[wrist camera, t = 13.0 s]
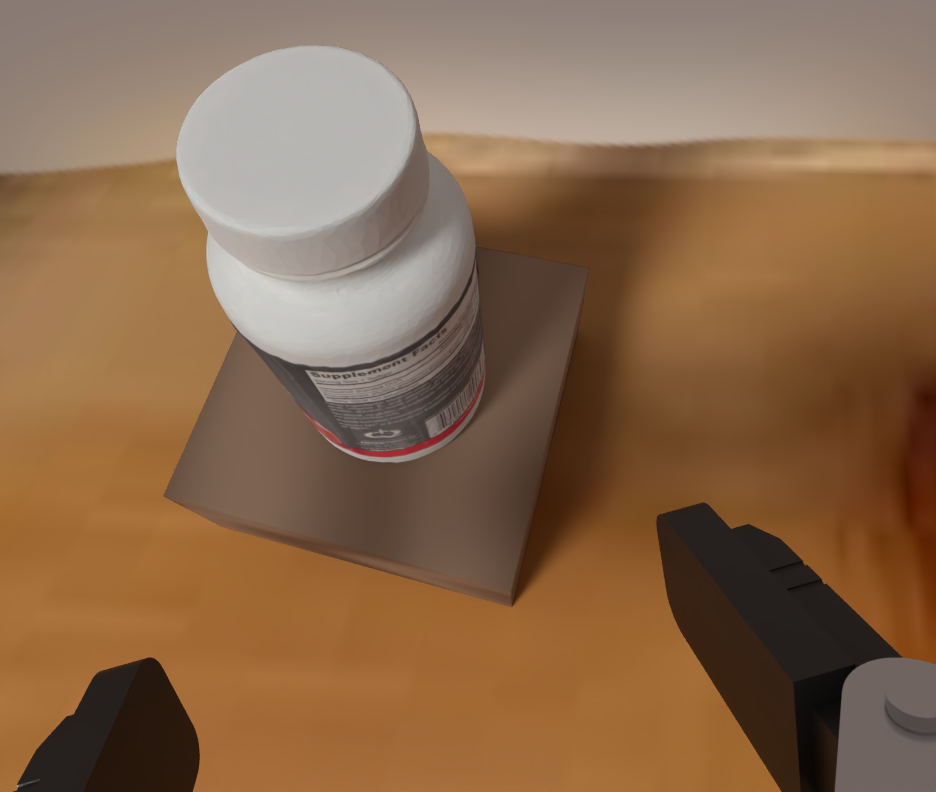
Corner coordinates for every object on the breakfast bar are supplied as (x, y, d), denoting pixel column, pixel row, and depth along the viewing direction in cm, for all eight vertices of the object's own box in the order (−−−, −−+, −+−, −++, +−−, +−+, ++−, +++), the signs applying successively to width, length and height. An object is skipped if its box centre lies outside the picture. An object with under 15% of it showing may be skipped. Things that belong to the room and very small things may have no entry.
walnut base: (220, 526, 23) (163, 496, 19) (322, 277, 26) (291, 211, 22) (511, 606, 21) (510, 591, 17) (578, 329, 25) (589, 268, 21)
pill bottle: (283, 337, 21) (105, 70, 12) (447, 276, 21) (399, -26, 12) (335, 497, 18) (167, 323, 10) (515, 426, 19) (518, 195, 10)
